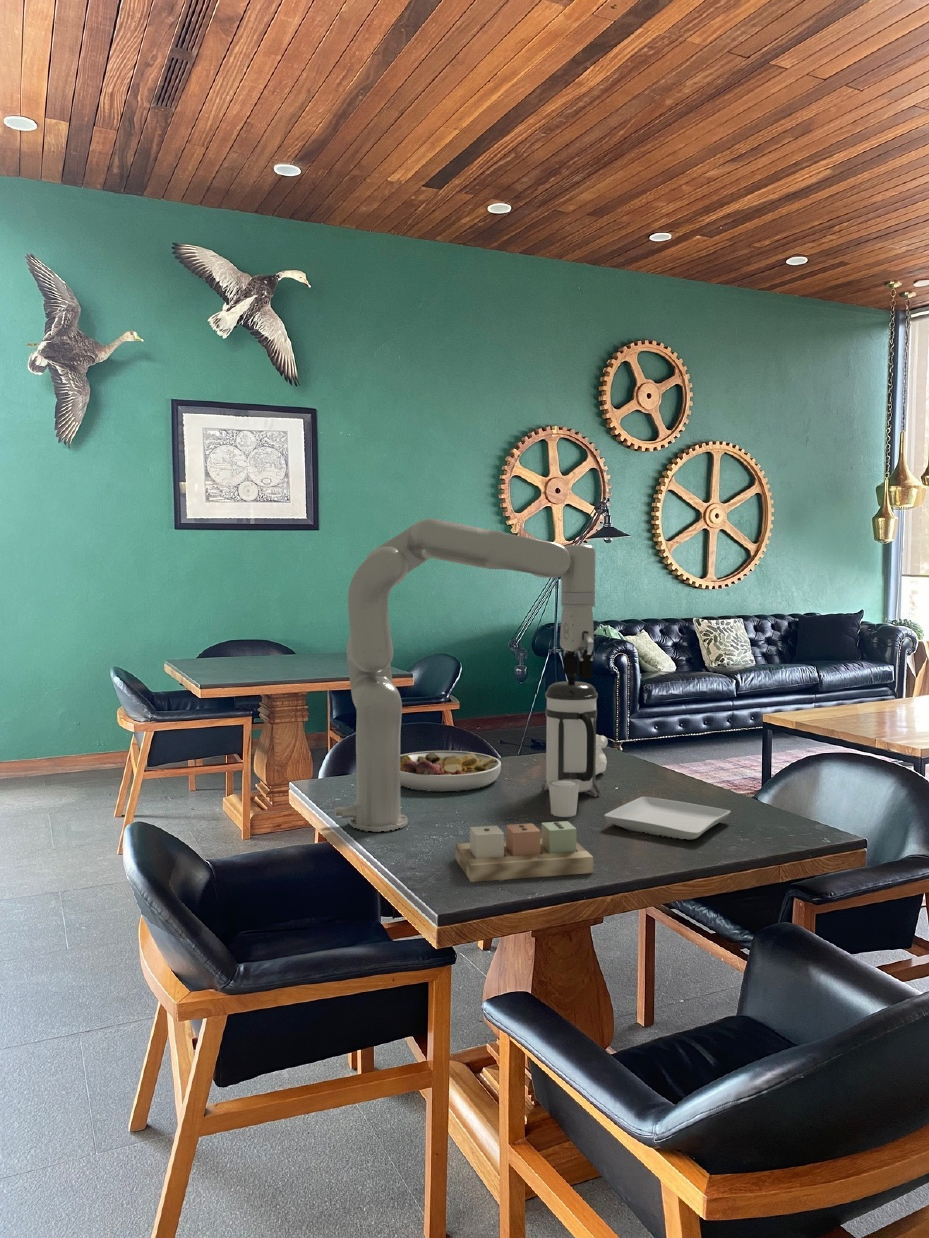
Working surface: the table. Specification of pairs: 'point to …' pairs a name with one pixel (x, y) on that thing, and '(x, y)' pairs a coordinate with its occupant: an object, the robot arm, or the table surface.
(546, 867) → the wooden dice block tray
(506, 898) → the table surface
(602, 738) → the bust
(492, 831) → the white dice block
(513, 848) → the tan dice block
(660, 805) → the salad plate
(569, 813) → the shot glass
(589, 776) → the coffee press
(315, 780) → the table surface
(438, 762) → the bowl
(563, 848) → the green dice block
